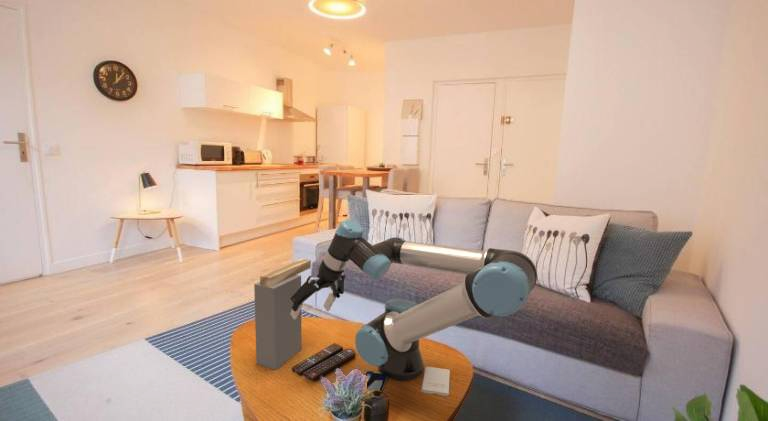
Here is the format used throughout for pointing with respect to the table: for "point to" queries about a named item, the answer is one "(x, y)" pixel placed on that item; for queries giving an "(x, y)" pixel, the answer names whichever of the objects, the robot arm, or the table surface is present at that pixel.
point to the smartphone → (375, 380)
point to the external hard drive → (436, 381)
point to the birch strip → (284, 272)
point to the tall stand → (276, 323)
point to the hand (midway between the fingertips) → (310, 312)
